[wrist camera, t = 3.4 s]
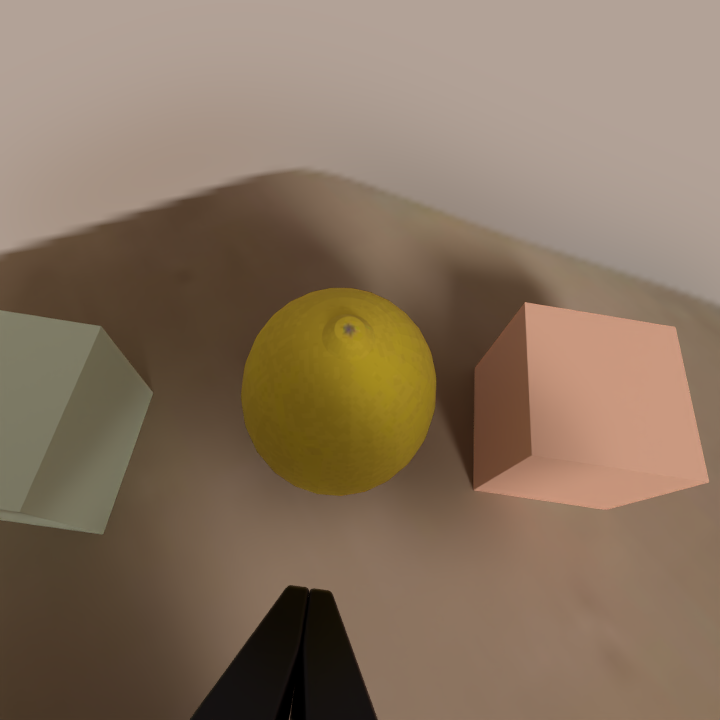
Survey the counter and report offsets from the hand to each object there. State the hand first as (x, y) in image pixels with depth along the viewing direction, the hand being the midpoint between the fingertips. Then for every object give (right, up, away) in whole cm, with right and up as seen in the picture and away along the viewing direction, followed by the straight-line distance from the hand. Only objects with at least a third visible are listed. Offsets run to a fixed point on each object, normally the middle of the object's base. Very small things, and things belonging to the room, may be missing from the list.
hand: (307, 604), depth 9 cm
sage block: (-9, +2, +7) cm, 12 cm away
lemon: (0, +2, +9) cm, 9 cm away
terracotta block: (+8, +2, +9) cm, 12 cm away
